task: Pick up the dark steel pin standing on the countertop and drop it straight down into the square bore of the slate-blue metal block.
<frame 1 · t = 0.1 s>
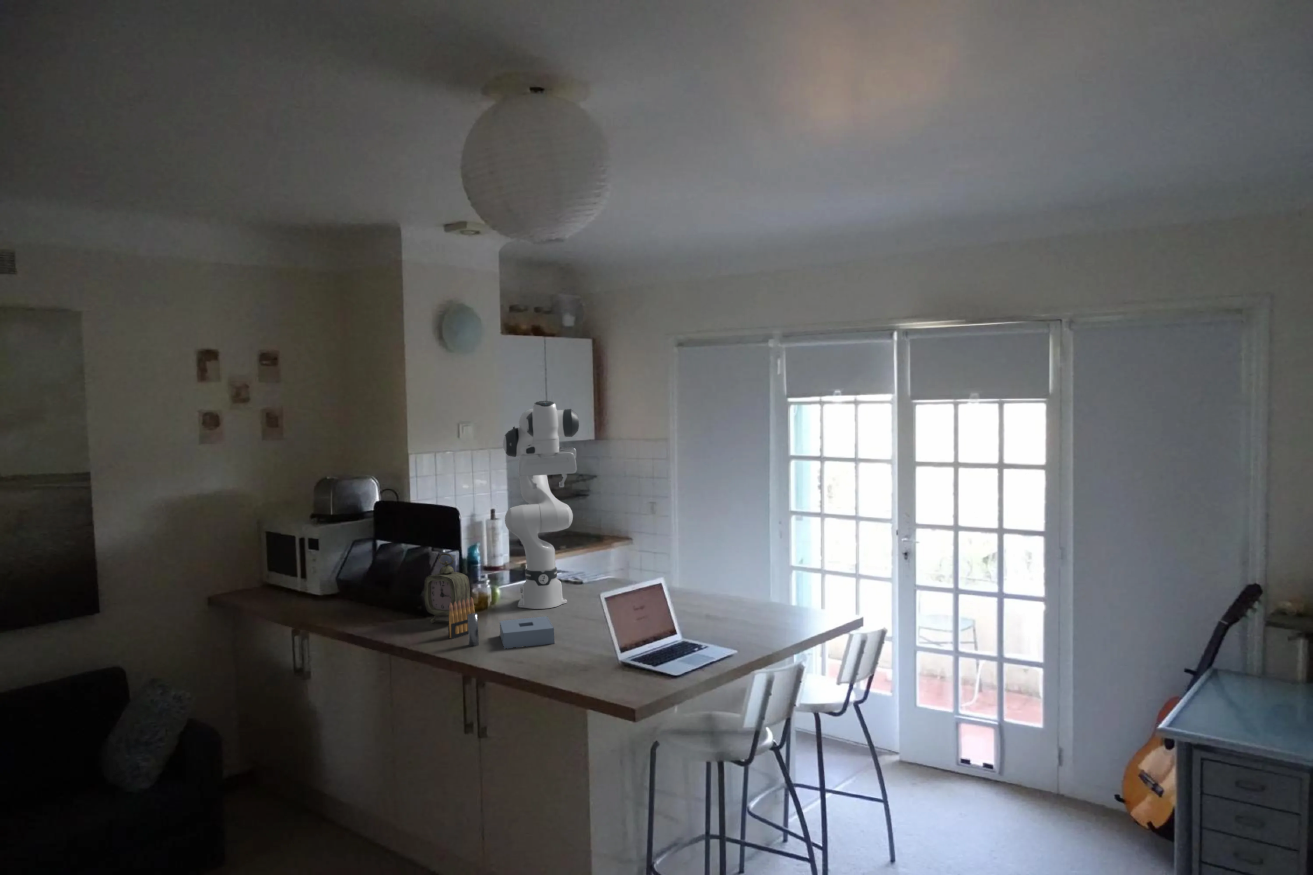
hand: (548, 487, 294), 48 cm above the worktop, tool pointing down, fingers open, 8 cm apart
ammunition clip: (462, 635, 287), on the worktop
bore block: (526, 639, 279), on the worktop
tabletop clock: (449, 622, 305), on the worktop
steel pin: (473, 644, 274), on the worktop
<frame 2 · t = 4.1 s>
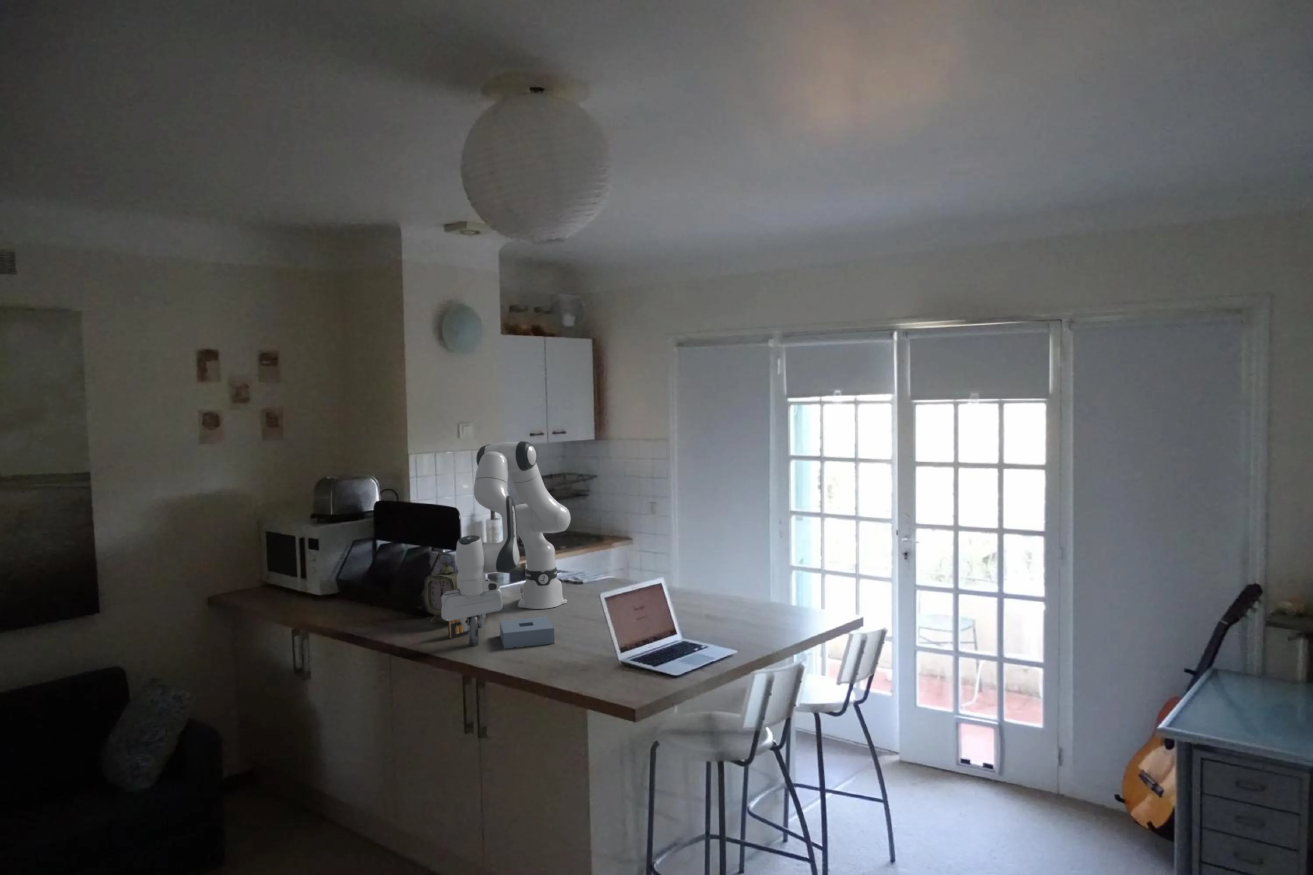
hand: (473, 629, 274), 5 cm above the worktop, tool pointing down, fingers closed on steel pin, 3 cm apart
steel pin: (473, 644, 274), on the worktop, touching gripper
everything else where it was.
when the fingers open (7 cm above the worktop, at t = 9.6 s): steel pin drops 2 cm, resting in bore block.
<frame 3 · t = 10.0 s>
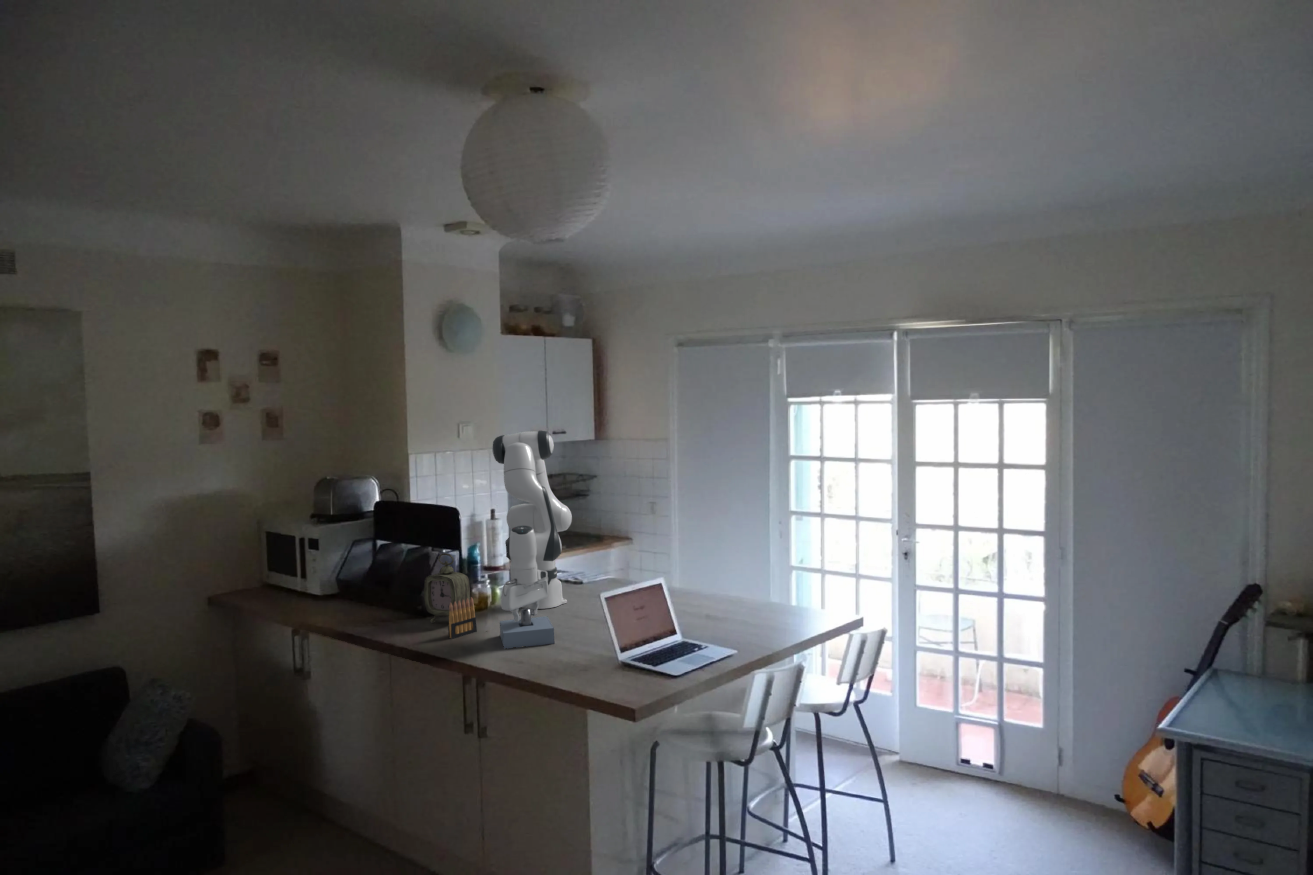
hand: (525, 617, 278), 7 cm above the worktop, tool pointing down, fingers open, 7 cm apart
steel pin: (526, 639, 279), resting in bore block
everything else where it was.
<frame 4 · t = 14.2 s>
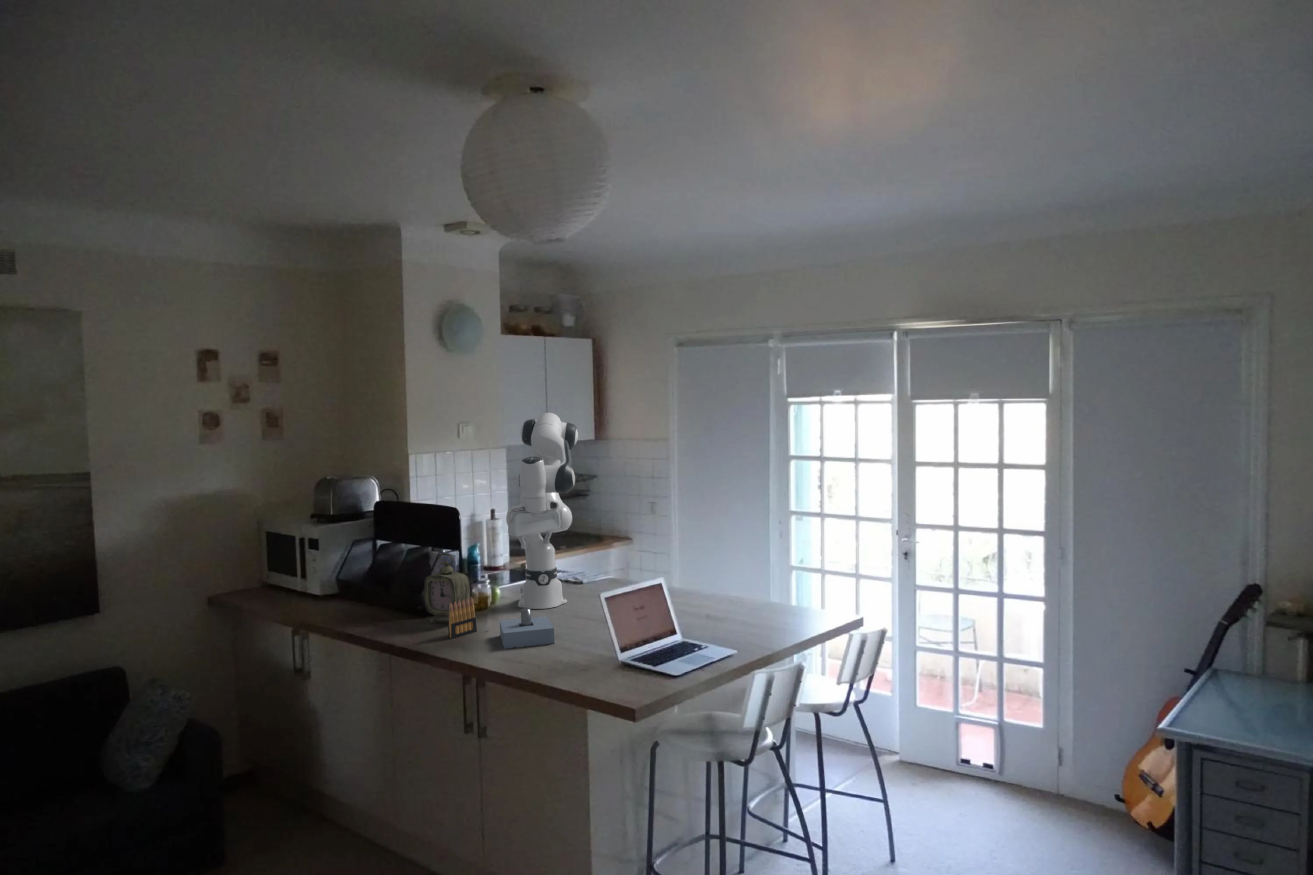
hand: (535, 546, 286), 29 cm above the worktop, tool pointing down, fingers open, 8 cm apart
nothing on the worktop moved.
at the end: steel pin 0.0 cm off-centre on the bore block, point 0.0 cm above the bore block's base; steel pin tilted 0°; the gripper is holding nothing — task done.
